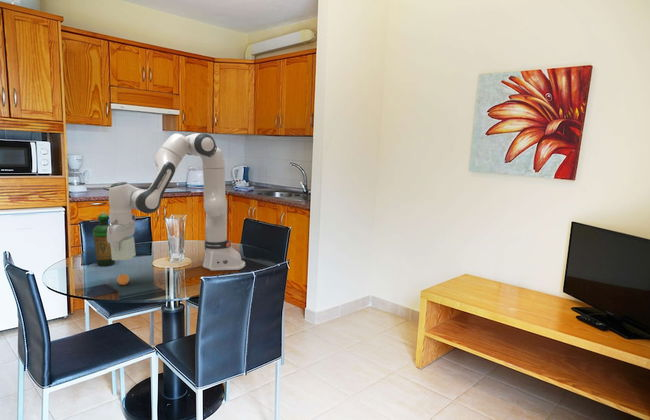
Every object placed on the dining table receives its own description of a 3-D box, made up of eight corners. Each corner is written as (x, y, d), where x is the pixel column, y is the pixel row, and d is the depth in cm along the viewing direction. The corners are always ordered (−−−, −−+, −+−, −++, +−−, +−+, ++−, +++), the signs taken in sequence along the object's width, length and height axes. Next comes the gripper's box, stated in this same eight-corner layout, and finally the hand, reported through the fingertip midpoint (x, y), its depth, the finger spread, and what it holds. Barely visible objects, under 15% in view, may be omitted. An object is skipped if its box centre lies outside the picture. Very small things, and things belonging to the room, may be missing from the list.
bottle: (101, 268, 212) (98, 215, 208) (90, 264, 218) (87, 212, 213) (121, 263, 221) (119, 212, 217) (110, 260, 227) (107, 210, 222)
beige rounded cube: (135, 255, 192) (133, 236, 190) (128, 259, 184) (126, 240, 183) (119, 255, 191) (117, 237, 190) (111, 260, 184) (110, 241, 183)
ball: (119, 273, 191) (121, 283, 192) (114, 276, 187) (115, 286, 187) (130, 272, 192) (131, 282, 192) (125, 275, 187) (127, 286, 187)
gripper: (116, 223, 175) (118, 254, 177) (137, 215, 195) (138, 243, 197) (101, 222, 175) (103, 254, 177) (123, 214, 195) (124, 243, 197)
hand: (121, 248), depth 187 cm, fingers closed on beige rounded cube, 7 cm apart
